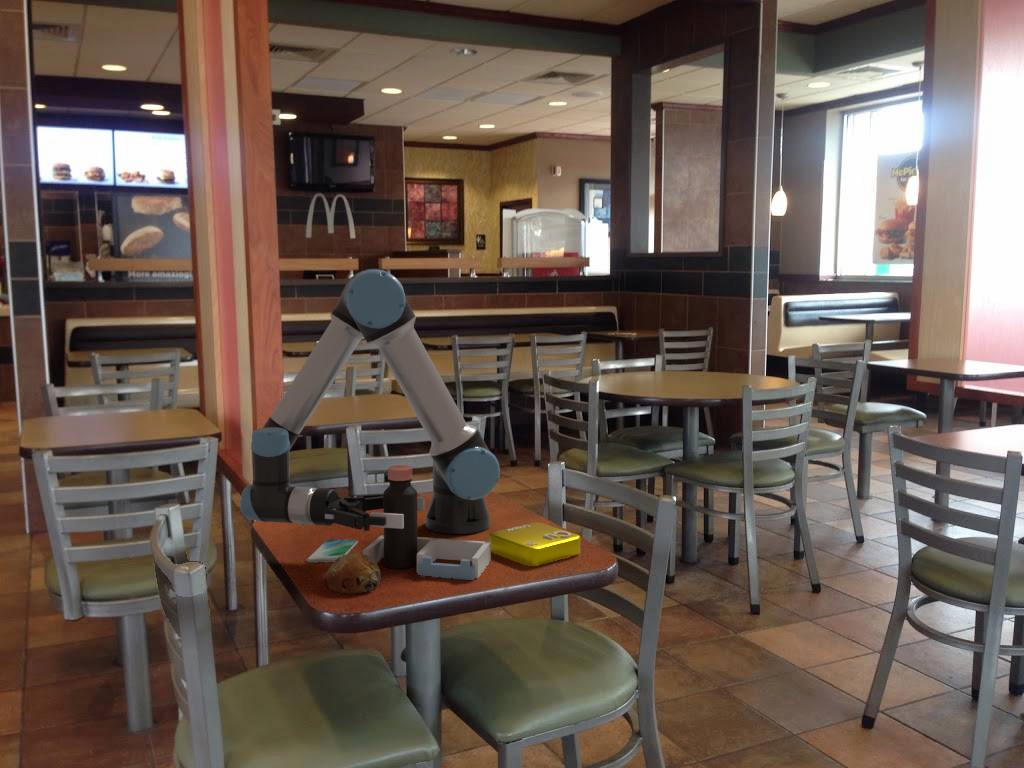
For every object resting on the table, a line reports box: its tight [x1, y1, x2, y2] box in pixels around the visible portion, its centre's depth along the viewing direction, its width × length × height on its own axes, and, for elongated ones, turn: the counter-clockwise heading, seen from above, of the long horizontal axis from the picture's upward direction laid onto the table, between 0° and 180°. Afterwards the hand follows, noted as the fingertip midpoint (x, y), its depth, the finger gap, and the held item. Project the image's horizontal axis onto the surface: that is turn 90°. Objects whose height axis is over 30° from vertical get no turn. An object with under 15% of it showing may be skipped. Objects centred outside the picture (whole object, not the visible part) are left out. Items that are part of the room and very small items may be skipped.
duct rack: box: [362, 534, 492, 581], centre depth 180 cm, size 12×24×4 cm, turn 78°
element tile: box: [488, 522, 581, 567], centre depth 190 cm, size 15×15×5 cm
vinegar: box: [382, 464, 418, 570], centre depth 181 cm, size 7×7×20 cm
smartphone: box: [305, 538, 359, 564], centre depth 190 cm, size 7×1×15 cm
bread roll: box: [326, 552, 382, 595], centre depth 169 cm, size 10×10×8 cm
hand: (414, 512), depth 180 cm, fingers open, 13 cm apart
